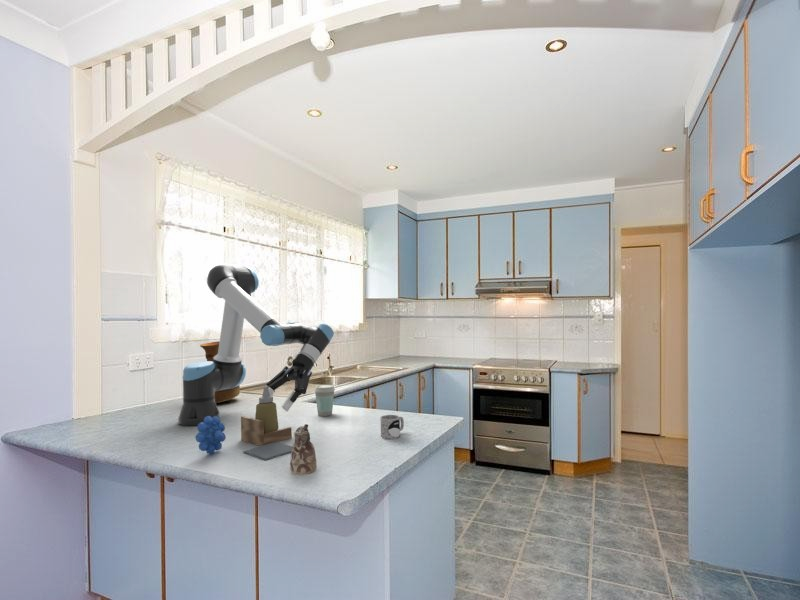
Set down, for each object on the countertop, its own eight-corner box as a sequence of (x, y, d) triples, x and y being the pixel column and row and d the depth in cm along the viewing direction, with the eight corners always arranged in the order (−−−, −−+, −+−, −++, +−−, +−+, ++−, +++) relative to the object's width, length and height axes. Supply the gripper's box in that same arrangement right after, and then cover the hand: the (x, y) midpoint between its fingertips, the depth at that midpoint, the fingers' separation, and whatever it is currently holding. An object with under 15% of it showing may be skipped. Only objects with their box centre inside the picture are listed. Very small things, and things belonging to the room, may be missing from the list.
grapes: (208, 461, 128) (207, 420, 129) (190, 459, 131) (189, 419, 131) (235, 449, 139) (235, 411, 140) (218, 447, 142) (218, 410, 142)
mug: (390, 440, 146) (390, 420, 146) (376, 436, 151) (376, 417, 151) (410, 433, 154) (410, 414, 154) (396, 430, 158) (396, 412, 158)
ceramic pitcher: (188, 403, 213) (188, 341, 214) (227, 396, 228) (226, 339, 229) (207, 408, 200) (207, 343, 201) (247, 400, 216) (247, 340, 216)
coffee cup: (318, 412, 189) (318, 384, 189) (337, 412, 188) (337, 384, 188) (311, 417, 180) (311, 387, 181) (331, 417, 179) (331, 388, 179)
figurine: (284, 472, 118) (284, 428, 119) (299, 464, 125) (299, 421, 125) (307, 475, 116) (306, 430, 116) (321, 466, 123) (320, 423, 123)
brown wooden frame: (241, 439, 150) (241, 416, 150) (271, 431, 159) (271, 409, 159) (261, 446, 142) (260, 421, 142) (291, 437, 151) (291, 414, 152)
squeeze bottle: (271, 442, 146) (271, 388, 146) (249, 441, 147) (249, 388, 148) (282, 435, 154) (282, 384, 154) (261, 434, 155) (261, 384, 156)
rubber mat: (243, 452, 136) (243, 451, 136) (276, 443, 145) (276, 441, 145) (265, 460, 128) (265, 458, 128) (298, 449, 138) (298, 448, 138)
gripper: (334, 367, 158) (301, 417, 146) (291, 363, 173) (258, 408, 161) (322, 354, 154) (288, 404, 142) (279, 351, 169) (245, 396, 157)
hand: (272, 406), depth 151 cm, fingers open, 13 cm apart
